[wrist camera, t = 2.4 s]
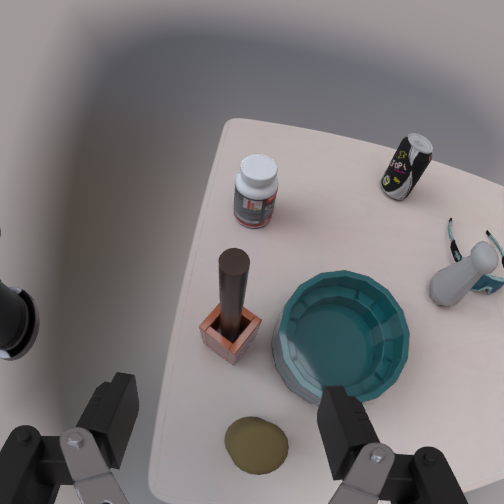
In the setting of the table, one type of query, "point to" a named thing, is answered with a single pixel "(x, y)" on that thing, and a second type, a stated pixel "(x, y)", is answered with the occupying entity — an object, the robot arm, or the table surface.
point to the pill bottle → (255, 190)
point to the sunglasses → (486, 280)
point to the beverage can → (407, 166)
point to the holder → (219, 343)
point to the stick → (232, 290)
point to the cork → (256, 445)
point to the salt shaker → (463, 275)
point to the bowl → (340, 337)
